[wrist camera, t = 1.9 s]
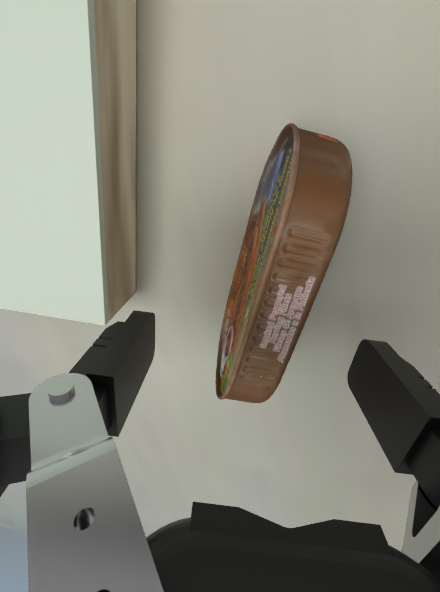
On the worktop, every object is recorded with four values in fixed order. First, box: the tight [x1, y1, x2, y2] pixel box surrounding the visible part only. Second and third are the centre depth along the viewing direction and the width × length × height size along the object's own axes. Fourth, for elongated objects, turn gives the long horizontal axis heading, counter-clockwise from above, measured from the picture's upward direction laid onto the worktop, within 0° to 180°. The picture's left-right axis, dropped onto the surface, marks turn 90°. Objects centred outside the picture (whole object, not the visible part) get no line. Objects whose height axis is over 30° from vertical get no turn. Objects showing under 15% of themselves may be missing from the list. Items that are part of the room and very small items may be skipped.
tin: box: [216, 123, 352, 403], centre depth 15 cm, size 15×3×8 cm, turn 167°
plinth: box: [0, 0, 137, 325], centre depth 14 cm, size 10×22×5 cm, turn 172°
